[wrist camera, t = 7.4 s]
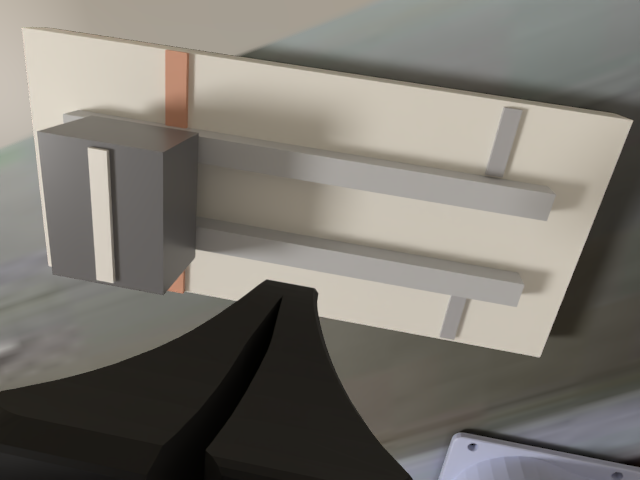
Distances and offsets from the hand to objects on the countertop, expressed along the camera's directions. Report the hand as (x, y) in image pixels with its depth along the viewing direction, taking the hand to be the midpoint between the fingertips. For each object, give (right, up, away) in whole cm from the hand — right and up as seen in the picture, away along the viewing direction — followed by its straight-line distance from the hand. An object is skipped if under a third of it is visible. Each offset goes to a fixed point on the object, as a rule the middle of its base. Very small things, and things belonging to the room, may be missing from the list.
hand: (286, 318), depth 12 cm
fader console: (0, +4, +9) cm, 9 cm away
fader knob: (-6, +4, +7) cm, 10 cm away
